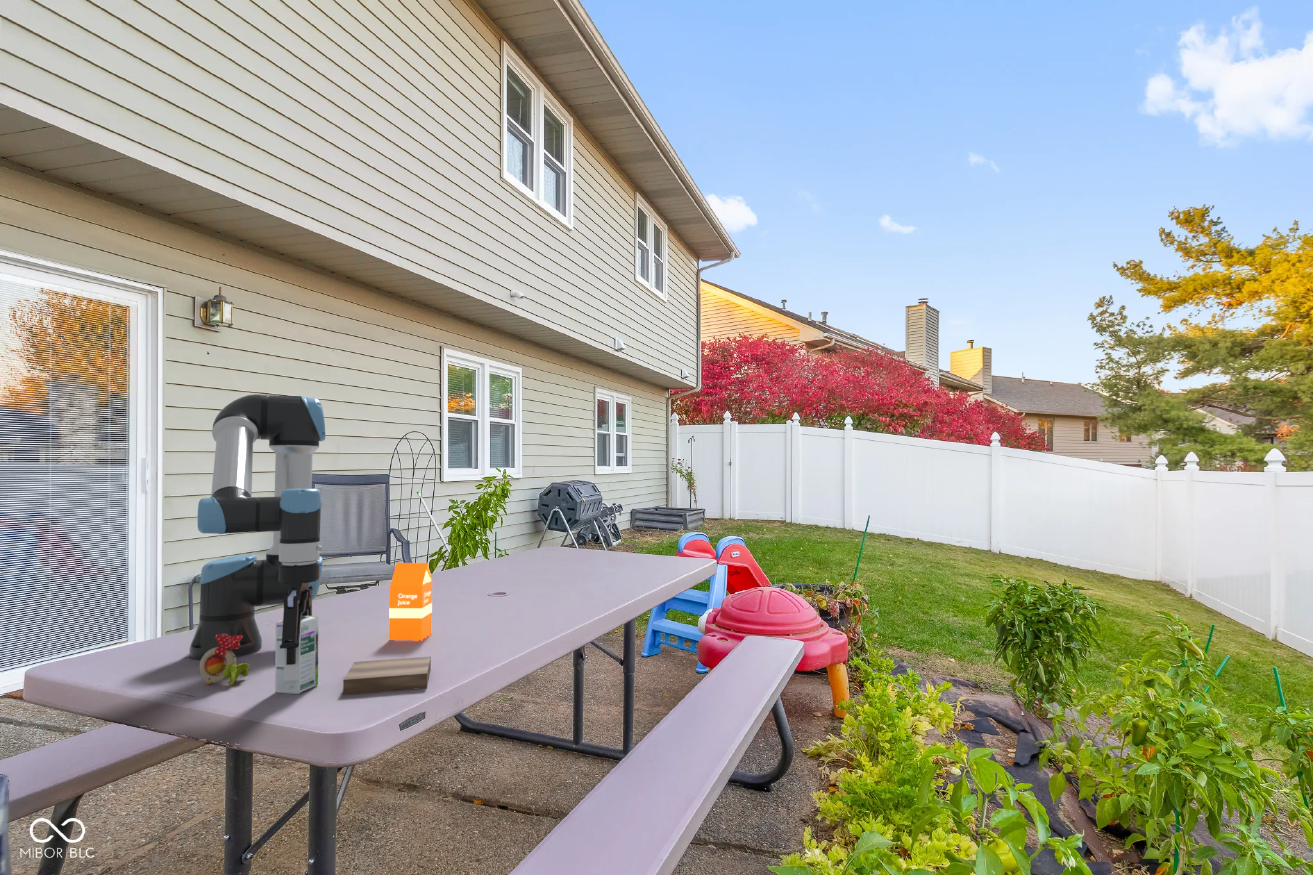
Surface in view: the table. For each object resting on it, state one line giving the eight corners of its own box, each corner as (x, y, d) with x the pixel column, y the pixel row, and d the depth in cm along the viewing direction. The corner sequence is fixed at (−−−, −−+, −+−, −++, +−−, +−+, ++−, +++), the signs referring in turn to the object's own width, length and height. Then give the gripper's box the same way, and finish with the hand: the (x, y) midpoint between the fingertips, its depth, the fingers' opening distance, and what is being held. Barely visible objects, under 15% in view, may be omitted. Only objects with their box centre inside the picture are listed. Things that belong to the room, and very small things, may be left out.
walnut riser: (354, 675, 147) (354, 661, 147) (430, 669, 151) (430, 656, 151) (343, 694, 134) (343, 679, 135) (426, 688, 139) (427, 673, 139)
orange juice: (421, 641, 177) (422, 565, 178) (388, 641, 177) (389, 564, 178) (431, 633, 184) (432, 560, 185) (400, 633, 185) (401, 560, 186)
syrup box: (298, 694, 135) (300, 621, 135) (273, 692, 136) (275, 620, 136) (318, 685, 140) (320, 615, 141) (293, 683, 141) (295, 614, 142)
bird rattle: (202, 699, 138) (245, 680, 139) (180, 650, 138) (224, 631, 139) (217, 690, 144) (259, 671, 145) (197, 642, 144) (239, 624, 145)
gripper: (307, 568, 131) (304, 687, 129) (329, 555, 150) (326, 659, 149) (264, 570, 129) (261, 691, 127) (292, 557, 148) (289, 661, 147)
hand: (296, 673), depth 138 cm, fingers closed on syrup box, 7 cm apart
